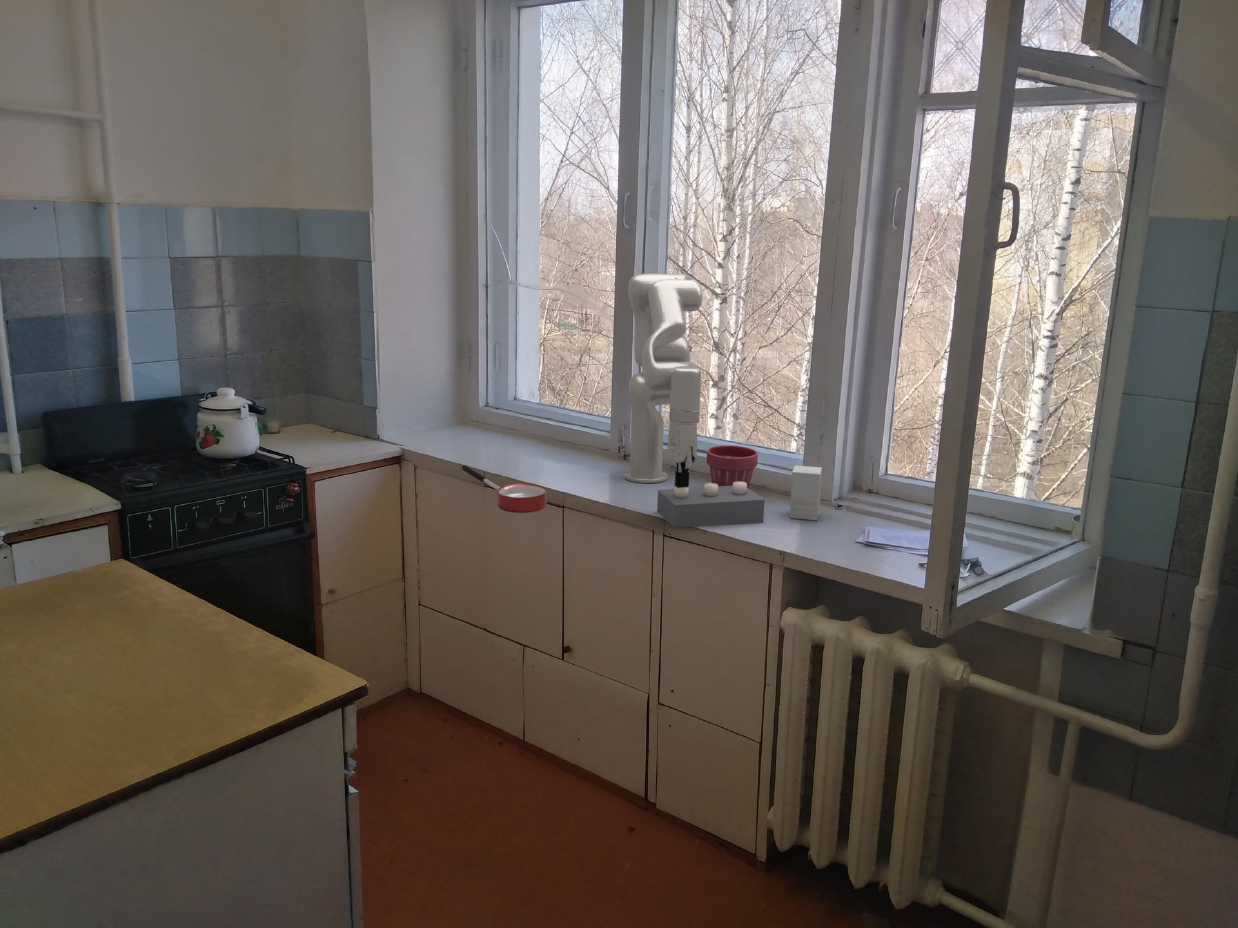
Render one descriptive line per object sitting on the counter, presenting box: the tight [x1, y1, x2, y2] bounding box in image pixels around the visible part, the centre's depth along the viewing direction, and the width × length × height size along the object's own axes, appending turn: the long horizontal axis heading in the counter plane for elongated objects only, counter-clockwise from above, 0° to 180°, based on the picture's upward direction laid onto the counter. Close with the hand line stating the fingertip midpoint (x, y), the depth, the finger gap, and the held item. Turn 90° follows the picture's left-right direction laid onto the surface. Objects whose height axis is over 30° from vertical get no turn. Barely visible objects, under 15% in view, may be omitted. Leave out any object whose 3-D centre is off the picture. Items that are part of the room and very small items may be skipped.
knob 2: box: [703, 482, 718, 496], centre depth 246 cm, size 4×4×7 cm
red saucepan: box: [461, 464, 548, 514], centre depth 258 cm, size 32×13×6 cm, turn 51°
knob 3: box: [732, 481, 747, 495], centre depth 248 cm, size 4×4×7 cm
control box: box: [656, 486, 765, 529], centre depth 247 cm, size 14×24×6 cm, turn 106°
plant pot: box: [705, 444, 759, 489], centre depth 266 cm, size 14×14×13 cm
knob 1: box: [673, 485, 690, 498], centre depth 244 cm, size 4×4×7 cm
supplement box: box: [789, 465, 823, 521], centre depth 249 cm, size 7×7×13 cm
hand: (681, 486), depth 243 cm, fingers closed
